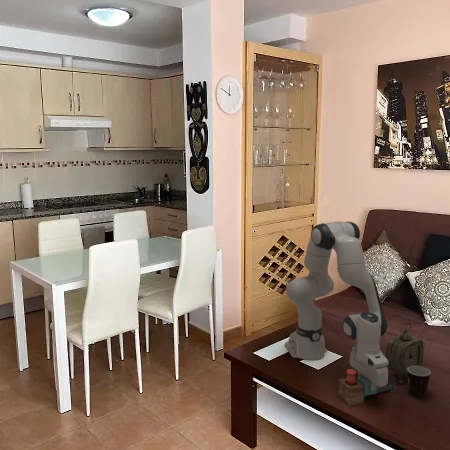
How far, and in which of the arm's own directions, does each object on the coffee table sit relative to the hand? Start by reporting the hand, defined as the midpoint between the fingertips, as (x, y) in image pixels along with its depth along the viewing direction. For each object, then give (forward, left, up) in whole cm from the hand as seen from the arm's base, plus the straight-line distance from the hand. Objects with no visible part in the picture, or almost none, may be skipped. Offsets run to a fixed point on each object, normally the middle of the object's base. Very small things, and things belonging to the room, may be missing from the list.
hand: (367, 386), depth 186 cm
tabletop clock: (-7, +24, -4) cm, 25 cm away
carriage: (0, 0, -3) cm, 3 cm away
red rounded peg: (0, -8, +2) cm, 8 cm away
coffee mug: (+7, +19, -4) cm, 20 cm away
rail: (0, +4, -4) cm, 6 cm away
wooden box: (0, -7, -4) cm, 9 cm away
